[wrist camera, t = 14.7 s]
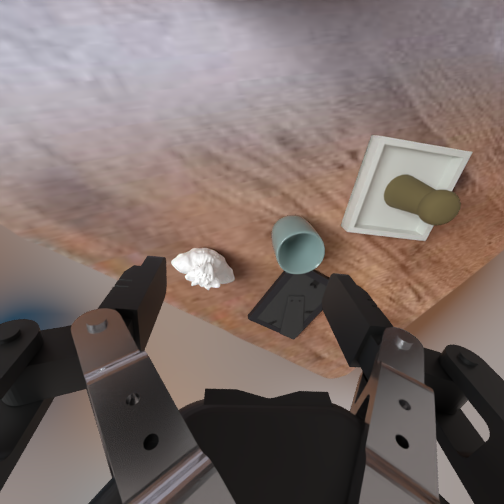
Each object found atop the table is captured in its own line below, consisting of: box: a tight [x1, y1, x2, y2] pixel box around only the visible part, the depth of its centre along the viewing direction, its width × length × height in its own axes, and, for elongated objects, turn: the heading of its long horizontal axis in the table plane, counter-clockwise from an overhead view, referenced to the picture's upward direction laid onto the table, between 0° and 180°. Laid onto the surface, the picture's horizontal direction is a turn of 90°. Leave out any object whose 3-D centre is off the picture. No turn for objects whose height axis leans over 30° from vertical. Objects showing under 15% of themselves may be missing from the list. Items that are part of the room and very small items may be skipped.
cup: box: [271, 215, 325, 274], centre depth 43 cm, size 8×8×10 cm
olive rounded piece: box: [384, 174, 461, 225], centre depth 39 cm, size 6×6×11 cm
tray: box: [341, 135, 472, 241], centre depth 43 cm, size 16×16×3 cm
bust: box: [172, 248, 235, 290], centre depth 45 cm, size 12×8×11 cm
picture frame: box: [248, 270, 329, 339], centre depth 55 cm, size 13×2×18 cm
